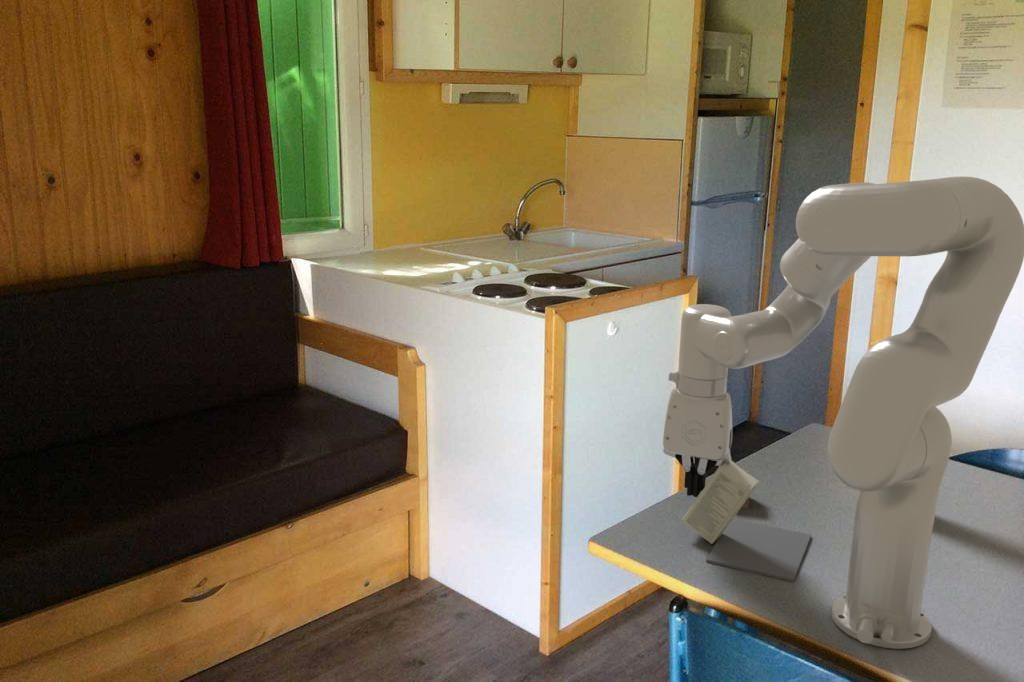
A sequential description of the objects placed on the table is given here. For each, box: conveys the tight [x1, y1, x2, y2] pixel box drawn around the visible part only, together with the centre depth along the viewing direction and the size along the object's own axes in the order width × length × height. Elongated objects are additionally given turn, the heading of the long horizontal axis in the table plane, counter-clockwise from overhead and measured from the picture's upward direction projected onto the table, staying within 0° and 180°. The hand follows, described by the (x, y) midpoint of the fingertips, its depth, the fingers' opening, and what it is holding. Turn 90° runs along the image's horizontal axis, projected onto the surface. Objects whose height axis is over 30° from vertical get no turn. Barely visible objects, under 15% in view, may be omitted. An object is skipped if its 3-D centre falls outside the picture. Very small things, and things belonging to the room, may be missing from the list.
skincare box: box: [681, 459, 760, 545], centre depth 146 cm, size 6×4×12 cm
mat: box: [705, 518, 812, 583], centre depth 146 cm, size 16×13×1 cm
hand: (694, 493), depth 148 cm, fingers closed
